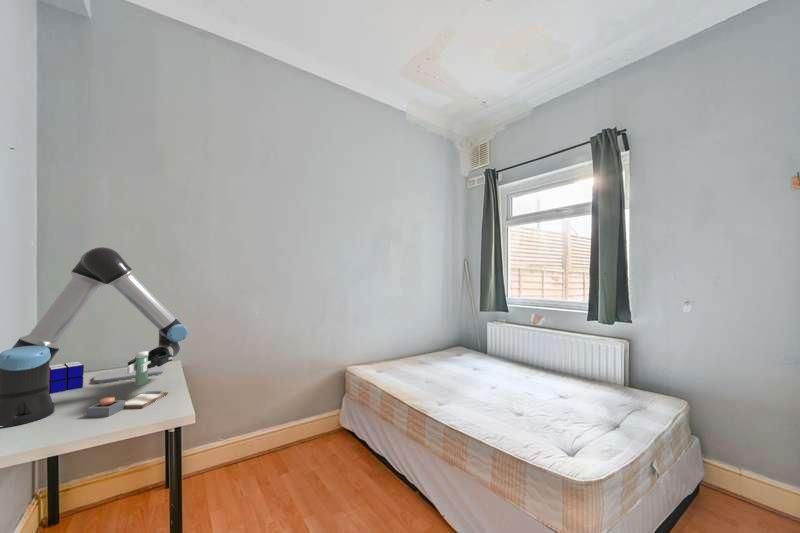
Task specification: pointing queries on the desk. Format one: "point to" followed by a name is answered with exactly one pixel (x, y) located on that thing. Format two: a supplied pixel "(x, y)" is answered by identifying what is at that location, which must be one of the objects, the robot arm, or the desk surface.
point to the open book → (144, 399)
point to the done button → (107, 401)
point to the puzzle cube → (65, 377)
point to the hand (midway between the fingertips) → (135, 369)
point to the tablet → (123, 374)
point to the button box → (105, 409)
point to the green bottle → (140, 360)
